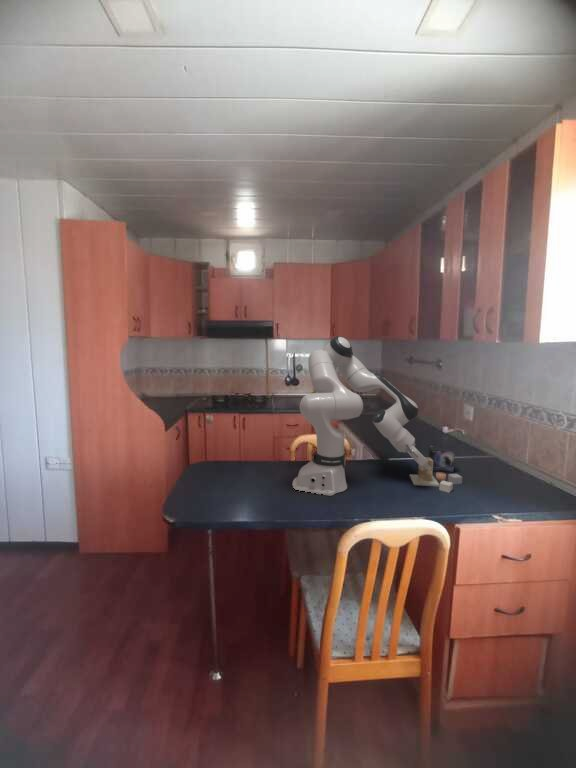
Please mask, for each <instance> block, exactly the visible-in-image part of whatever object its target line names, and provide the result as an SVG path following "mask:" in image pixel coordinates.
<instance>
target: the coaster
mask: <svg viewBox="0 0 576 768" xmlns="http://www.w3.org/2000/svg"><path fill="white" fill-rule="evenodd" d="M409 478H410V479H411V482H412V483H413V485H414V486H421V487H422V486H423V487H424V486H425V487H439V485H440V482H438V481H436V477H435V476H434V475H432V482H428V481H421V480H420V479H419V478H418V474H413V473H412V474H409Z"/></svg>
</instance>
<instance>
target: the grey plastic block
mask: <svg viewBox="0 0 576 768" xmlns="http://www.w3.org/2000/svg"><path fill="white" fill-rule="evenodd" d="M447 482H451V483H453V485H460V484H463V476H462V475H460V474H458V473H448V474H447Z"/></svg>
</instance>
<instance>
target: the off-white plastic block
mask: <svg viewBox="0 0 576 768" xmlns="http://www.w3.org/2000/svg"><path fill="white" fill-rule="evenodd" d="M453 487H454V484H453V483H451V482H449V481H448V480H446V481H442V482H439V486H438V491H442V492H445V493H451V492H452V491H453V489H454V488H453Z"/></svg>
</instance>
